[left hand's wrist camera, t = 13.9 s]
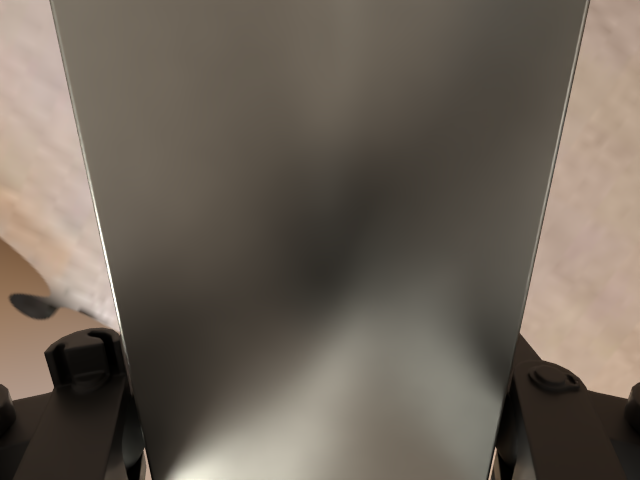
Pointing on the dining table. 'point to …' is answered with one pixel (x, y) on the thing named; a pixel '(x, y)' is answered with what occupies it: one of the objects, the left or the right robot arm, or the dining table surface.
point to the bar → (319, 221)
